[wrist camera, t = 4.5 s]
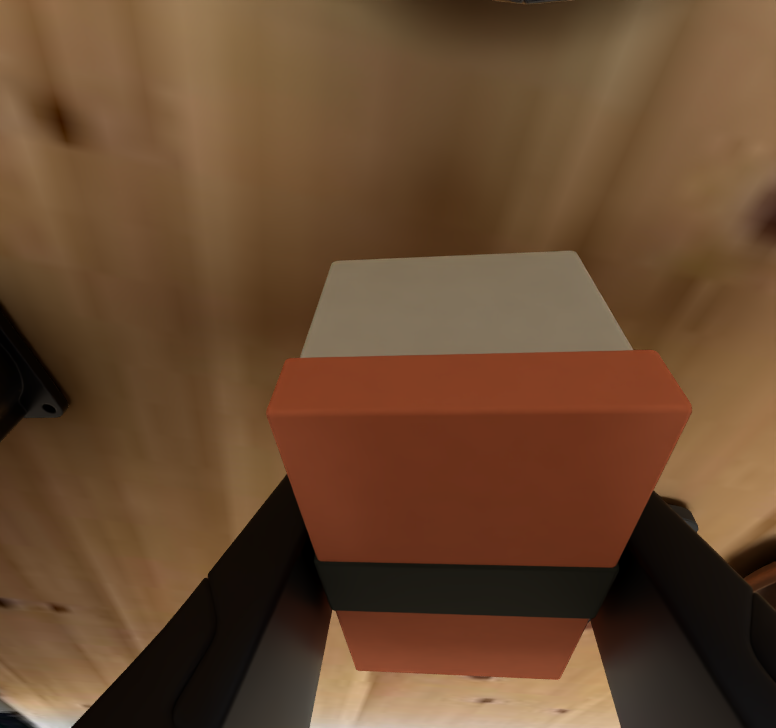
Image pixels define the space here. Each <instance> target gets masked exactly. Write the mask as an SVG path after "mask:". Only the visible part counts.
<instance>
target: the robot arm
mask: <svg viewBox="0 0 776 728" xmlns="http://www.w3.org/2000/svg"><path fill="white" fill-rule="evenodd" d="M68 406H69V404H68V402H67V401H66V399H65V398H64V396H63V395H62V394H61V392H60V391H59V390H58V388H57V387H56V386H55V384H54V383H53V381H52V380H51V379H50V377H49V376H48V375H47V373H46V372H45V370H44V369H43V368H42V366H41V365H40V364H39V362H38V361H37V360H36V358H35V357H34V355H33V354H32V353H31V351H30V350H29V349H28V347H27V346H26V344H25V343H24V342H23V340H22V339H21V338H20V336H19V335H18V334H17V332H16V331H15V329H14V328H13V327H12V325H11V324H10V323H9V321H8V320H7V319H6V317H5V316H4V314H3V313H2V312H1V310H0V442H1V441H2V440H3V439H4V438H5V437H6V436H7V435H8V433H9V432H10V431H11V430H12V429H13V428H14V427H15V426H16V425H17V424H18V423H19V422H20V421H21V420H22V419H23V418H56V417H60V416H61V415H63V413H64V412H65V411H66V410H67V409H68ZM314 557H315V551H314V548H313V546H312V543H311V540H310V537H309V534H308V531H307V529H306V526H305V523H304V520H303V517H302V514H301V512H300V509H299V506H298V503H297V500H296V497H295V495H294V492H293V489H292V486H291V483H290V480H289V478H288V475H286V476H285V477H284V479H283V480H282V481H281V482H280V484H279V485H278V486H277V487H276V489H275V490H274V491H273V492H272V494H271V495H270V496H269V498H268V499H267V500H266V501H265V503H264V504H263V505H262V506H261V508H260V509H259V510H258V511H257V513H256V514H255V515H254V516H253V518H252V519H251V520H250V521H249V523H248V524H247V525H246V527H245V528H244V529H243V530H242V532H241V533H240V534H239V535H238V537H237V538H236V539H235V540H234V542H233V543H232V544H231V545H230V547H229V548H228V549H227V550H226V552H225V553H224V554H223V556H222V557H221V558H220V559H219V561H218V562H217V563H216V564H215V566H214V567H213V568H212V569H211V571H210V572H209V573H208V578H204V579H203V580H202V582H201V583H200V584H199V585H198V587H197V588H196V589H195V591H194V592H193V593H192V594H191V596H190V597H189V598H188V599H187V600H186V602H185V603H184V604H183V605H182V607H181V608H180V609H179V610H178V611H177V613H176V614H175V615H174V616H173V617H172V619H171V620H170V621H169V622H168V623H167V625H166V626H165V627H164V628H163V629H162V630H161V631H160V633H159V634H158V635H157V636H156V637H155V638H154V639H153V640H152V641H151V643H150V644H149V645H148V646H147V647H146V648H145V649H144V650H143V651H142V652H141V654H140V655H139V656H138V657H137V658H136V659H135V660H134V661H133V662H132V663H131V664H130V666H129V667H128V668H127V669H126V670H125V671H124V672H123V673H122V674H121V675H120V676H119V677H118V678H117V679H116V680H115V681H114V683H113V684H112V685H111V686H110V687H109V688H108V689H107V690H106V691H105V692H104V693H103V694H102V695H101V696H100V697H99V699H98V700H97V701H96V702H95V703H94V704H93V705H92V706H91V707H90V708H89V709H88V710H87V711H86V712H85V713H84V714H83V716H82V717H81V718H80V719H79V720H78V721H77V722H76V723H75V724H74V725H73V726H72V727H71V728H309V727H310V722H311V717H312V712H313V706H314V701H315V696H316V691H317V686H318V681H319V676H320V670H321V665H322V660H323V655H324V650H325V645H326V640H327V634H328V629H329V624H330V619H331V614H332V609H331V608H330V605H329V602H328V600H327V597H326V594H325V591H324V589H323V586H322V583H321V580H320V578H319V575H318V572H317V569H316V567H315V564H314ZM618 564H619V572H618V574H617V576H616V578H615V580H614V582H613V584H612V586H611V588H610V590H609V592H608V594H607V596H606V598H605V600H604V602H603V604H602V606H601V608H600V610H599V611H598V613H597V615H596V617H595V618H593V619H590V621H591V624H592V628H593V631H594V635H595V638H596V642H597V645H598V648H599V652H600V655H601V659H602V662H603V666H604V669H605V673H606V676H607V680H608V683H609V687H610V690H611V694H612V697H613V701H614V704H615V708H616V711H617V715H618V718H619V722H620V725H621V728H776V610H775V609H774V608H773V607H772V606H771V605H770V604H769V603H768V602H767V601H766V600H765V599H764V598H763V597H762V596H761V595H760V594H759V593H757V592H753V588H752V587H751V586H750V585H749V584H748V583H747V582H746V581H745V580H744V579H743V578H742V577H741V576H740V575H739V574H738V573H737V572H736V571H735V570H734V569H733V568H732V567H731V566H730V565H729V564H728V563H727V562H726V561H725V560H724V559H723V558H722V557H721V556H720V555H719V554H718V553H717V552H716V551H715V550H714V549H713V548H712V547H711V546H710V545H709V544H708V543H707V542H705V541H704V540H703V539H702V538H701V537H700V536H699V535H698V534H697V533H696V532H695V531H694V530H693V529H692V528H691V527H690V526H689V525H688V524H687V523H686V522H685V521H684V520H683V519H682V518H681V517H680V516H679V515H678V514H677V513H676V512H675V511H674V510H673V509H672V508H671V507H670V506H669V505H668V504H667V503H666V502H665V501H664V500H663V499H662V498H661V497H660V496H659V495H658V494H657V493H656V492H655V491H653V492H652V494H651V496H650V498H649V500H648V502H647V504H646V506H645V508H644V510H643V512H642V514H641V516H640V518H639V520H638V522H637V524H636V526H635V528H634V530H633V532H632V534H631V536H630V538H629V540H628V542H627V544H626V546H625V548H624V550H623V552H622V554H621V556H620V558H619V561H618Z"/></svg>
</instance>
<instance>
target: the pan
mask: <svg viewBox="0 0 776 728" xmlns="http://www.w3.org/2000/svg"><path fill="white" fill-rule="evenodd" d="M492 1H500V2H506V3H514V4H525V5H531V4H542V3H552V2H563V1H573V0H492Z"/></svg>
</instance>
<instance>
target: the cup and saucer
mask: <svg viewBox="0 0 776 728" xmlns="http://www.w3.org/2000/svg"><path fill="white" fill-rule="evenodd" d="M743 579H744V580H745V581H746V582H747V583H748V584H749V585H750V586H751V587H752V588H753V592H757V593H759V594H760V595H761V596H762V597H763V598H764V599H765V600H766V601H767V602H768V603H769V604H770V605H771V606H772V607H773V608H774V609H775V610H776V561H775V562H772V563H770V564H768V565H766V566H764V567H762V568H760V569H758V570H756V571H754V572H753V573H751V574H750V575H748V576H746V577H745V578H743Z"/></svg>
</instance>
